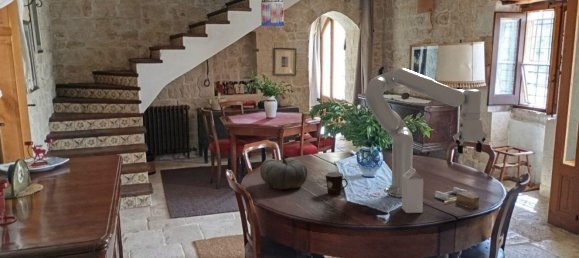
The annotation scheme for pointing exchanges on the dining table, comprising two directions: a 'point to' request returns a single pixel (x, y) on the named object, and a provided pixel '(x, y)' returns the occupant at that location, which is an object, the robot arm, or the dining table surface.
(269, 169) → the gourd
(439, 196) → the keeper
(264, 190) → the dining table surface
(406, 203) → the milk carton
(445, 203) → the door edge strip
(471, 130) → the robot arm
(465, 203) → the brown rectangular block
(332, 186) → the coffee mug
